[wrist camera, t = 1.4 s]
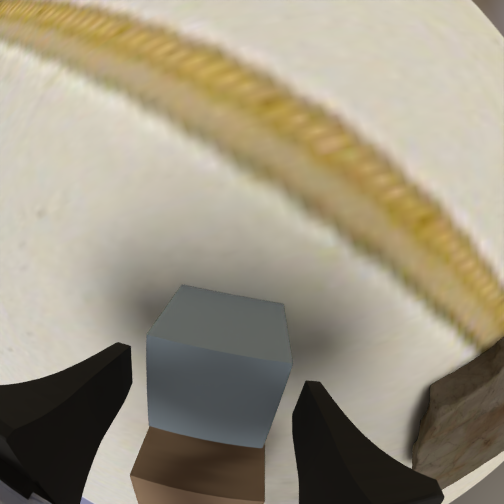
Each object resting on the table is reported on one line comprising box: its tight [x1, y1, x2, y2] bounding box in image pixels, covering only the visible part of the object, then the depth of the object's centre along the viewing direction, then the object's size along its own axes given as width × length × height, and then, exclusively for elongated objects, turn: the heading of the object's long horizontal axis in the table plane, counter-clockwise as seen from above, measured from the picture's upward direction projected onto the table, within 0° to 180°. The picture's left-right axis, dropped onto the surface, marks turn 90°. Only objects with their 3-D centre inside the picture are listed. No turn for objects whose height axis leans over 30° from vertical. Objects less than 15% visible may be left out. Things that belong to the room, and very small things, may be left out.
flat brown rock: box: [412, 337, 504, 490], centre depth 14 cm, size 17×15×4 cm
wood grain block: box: [130, 426, 265, 504], centre depth 14 cm, size 7×7×6 cm
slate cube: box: [146, 285, 293, 448], centre depth 12 cm, size 5×5×5 cm
